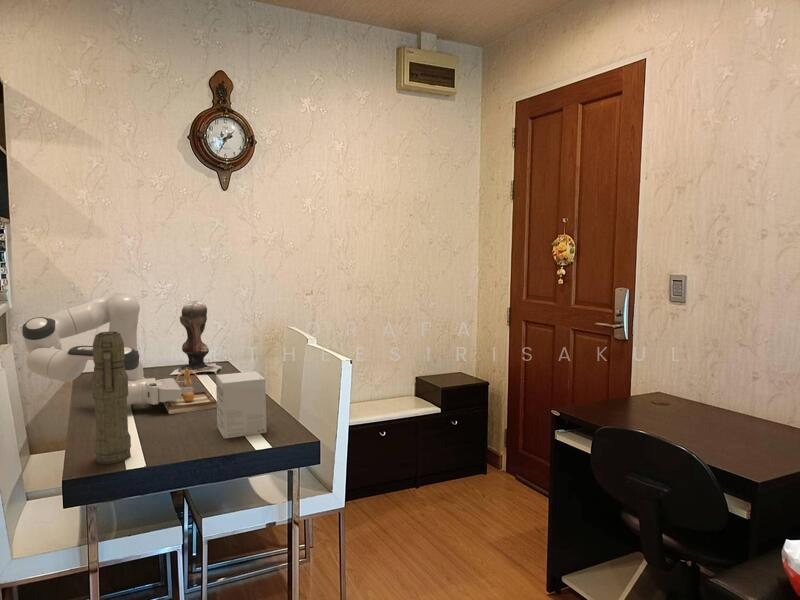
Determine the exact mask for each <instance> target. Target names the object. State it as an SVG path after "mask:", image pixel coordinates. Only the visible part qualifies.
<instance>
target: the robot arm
mask: <svg viewBox="0 0 800 600" xmlns="http://www.w3.org/2000/svg"><path fill="white" fill-rule="evenodd" d="M140 309H141V308H140V303H139V301H138V299H136V298H135V297H134V296H132V295H130V294H126V293H122V292H115V293H114V292H113V293H111V294H108V295H104V296H101V297H99V298H96V299H94V300H91V301H89V302H86V303H83V304H79V305H78V304H77V305H75V306H72V307H68V308H65V309H62V310H60V311H59V310H58V311H56V312H53V313H52V314H49V315H47V316H45V317H44V316H37V317H33V318H30V319H28V320H26V322H25V323H24V324H23V325H22V327H21V330H22V331H21V333H22V337H23V340H24V344H25V348H26V350H27V351H28V355H27V359H26V366H27V368H28V369H29V371H31V372H32V373H34V374H36V375H39V376H42V377H44V378H47V379H50V380H55V381H58V382H71V381H73V380H75V379H77V378H78V377H79V376H81V374H82V373H83V372H84V370H85V369H86V366H87V363H88V361H93V345H77V346H73V347H71V348H69V349H68V350H64V349H63V346H62V342H61V339H66V338H69V337H73V336H76V335H79V334H82V333H86V332H89V331H93V330H95V329H98V328H100V327H102V326H103V325H107V324H108V332H118V333H120V334H121V337H122V339H123V342H124V356H125V360H124V365H125V370H126V373H127V375H128V396H127V407H128V406H132V405H135V404H136V405H145V404H150V405H153V406H154V405H159V403H163V402H166V401H172V400H177V399H180V398H181V394H185V393H188V392H194V387H193V386H192V385H191V386H190V387H189V385H190V383H189V382H188V381H187V384H186V386H187V387H186V388H185V384H184V380H183V381H182V380H181V381H180V380H177V382H176V379H174V377H172V378H171V377H168V378H161V379H156V378H155V377H151V378H150V377H149V378H146V377H144V367H143V363H142V362H141V361H140V353H139V350H138V336H137V335H138V333H137V332H138V324H139V323H138V322H139V313H140Z"/></svg>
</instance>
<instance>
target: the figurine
mask: <svg viewBox="0 0 800 600" xmlns="http://www.w3.org/2000/svg"><path fill="white" fill-rule="evenodd" d="M182 375H183V376H184V379H183V381H184V384H185V387H184V388H186V387H187V386H186V384H187V381H188V382H189V386H188V387H190V386H192V378H190V375H195V377H196V379H197V380H198V381H200V377H199V376H198V375H197V372H196V373H194V372H191V371H189V370H188V369H186V370H185V371H184V372H182V373H181V374H177V378H176V379H175V381H176V382H177V381H179V378H180V376H182ZM193 392H194V391H193ZM193 392H188V393H185V394H183V399H184V400H185V401H186V402H190V401H192V400H193V399H194V393H193Z"/></svg>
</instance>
